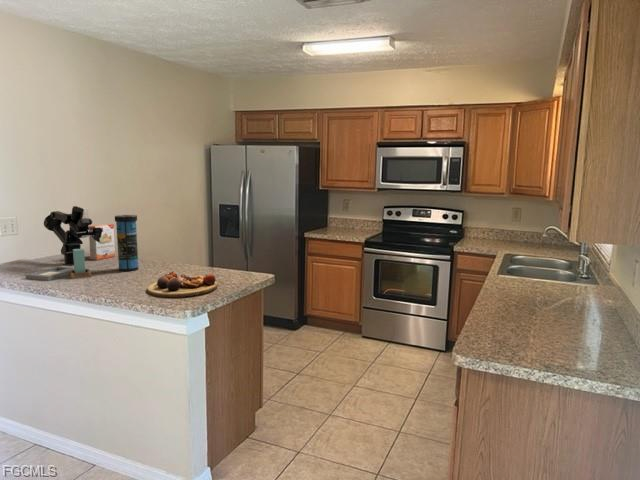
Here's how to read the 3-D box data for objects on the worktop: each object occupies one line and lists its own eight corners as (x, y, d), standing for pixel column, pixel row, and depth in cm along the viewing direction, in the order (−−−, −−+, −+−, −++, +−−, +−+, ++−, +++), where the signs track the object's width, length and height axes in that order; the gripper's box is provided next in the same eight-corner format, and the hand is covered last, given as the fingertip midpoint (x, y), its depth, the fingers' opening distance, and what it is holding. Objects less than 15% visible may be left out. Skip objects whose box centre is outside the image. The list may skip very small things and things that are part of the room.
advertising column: (119, 267, 254) (116, 214, 249) (140, 267, 257) (138, 214, 252) (115, 272, 243) (112, 217, 238) (138, 271, 246) (135, 216, 241)
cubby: (69, 275, 235) (68, 270, 235) (88, 273, 240) (88, 268, 240) (71, 279, 228) (71, 274, 228) (91, 276, 233) (91, 272, 233)
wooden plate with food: (228, 283, 226) (228, 267, 224) (197, 300, 195) (196, 281, 194) (171, 280, 233) (170, 264, 232) (132, 296, 202) (131, 278, 201)
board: (25, 278, 227) (25, 274, 227) (57, 270, 247) (57, 266, 246) (48, 280, 224) (48, 276, 224) (79, 271, 243) (78, 267, 243)
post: (74, 275, 235) (72, 249, 232) (84, 274, 237) (82, 248, 235) (76, 277, 231) (74, 250, 229) (85, 276, 234) (83, 249, 231)
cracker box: (97, 260, 272) (94, 226, 269) (90, 259, 274) (87, 225, 271) (115, 256, 285) (113, 223, 281) (108, 255, 287) (106, 223, 284)
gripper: (62, 216, 240) (75, 231, 233) (97, 213, 255) (110, 228, 248) (59, 234, 245) (72, 249, 237) (93, 230, 259) (107, 245, 252)
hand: (91, 242), depth 243 cm, fingers open, 9 cm apart
